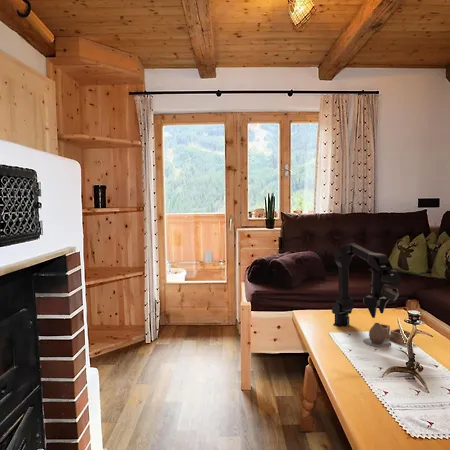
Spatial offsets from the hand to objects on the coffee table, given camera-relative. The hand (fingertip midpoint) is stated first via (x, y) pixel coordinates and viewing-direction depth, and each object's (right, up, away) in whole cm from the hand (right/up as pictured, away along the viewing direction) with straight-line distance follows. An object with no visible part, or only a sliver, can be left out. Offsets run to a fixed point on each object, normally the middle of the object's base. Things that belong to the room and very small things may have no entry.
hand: (377, 315), depth 175 cm
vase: (-1, -12, -2) cm, 12 cm away
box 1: (+5, -12, +7) cm, 15 cm away
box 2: (+10, -12, 0) cm, 16 cm away
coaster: (-1, -12, -2) cm, 13 cm away
